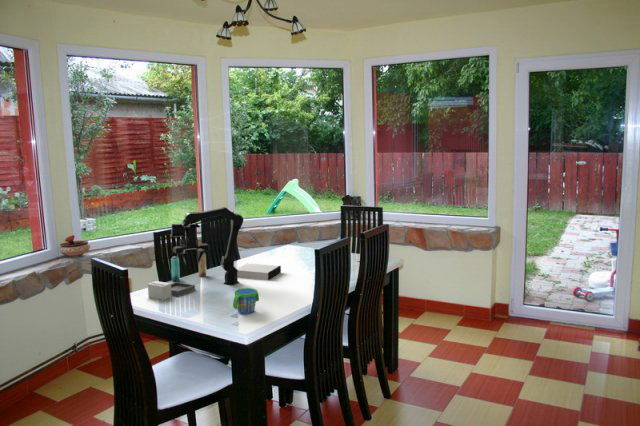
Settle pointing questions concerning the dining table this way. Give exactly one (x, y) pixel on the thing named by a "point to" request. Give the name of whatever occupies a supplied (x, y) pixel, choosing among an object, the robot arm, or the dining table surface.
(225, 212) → the robot arm
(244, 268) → the disc drive
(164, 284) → the block
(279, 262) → the dining table surface
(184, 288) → the tray
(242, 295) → the snack cup
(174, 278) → the cylinder
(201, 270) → the cylinder
